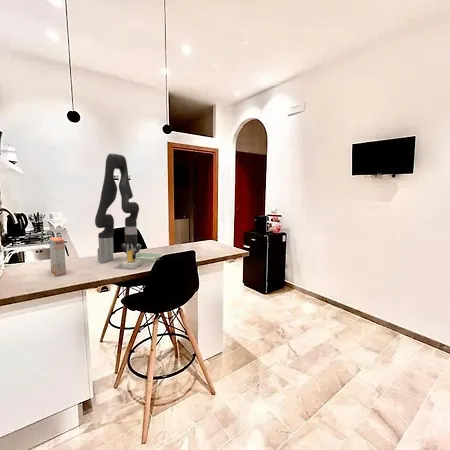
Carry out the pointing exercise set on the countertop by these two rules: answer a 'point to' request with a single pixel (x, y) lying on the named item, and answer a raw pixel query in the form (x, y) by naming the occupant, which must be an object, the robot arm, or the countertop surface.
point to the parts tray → (147, 257)
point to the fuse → (130, 256)
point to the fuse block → (129, 265)
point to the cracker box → (57, 255)
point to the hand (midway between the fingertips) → (131, 259)
